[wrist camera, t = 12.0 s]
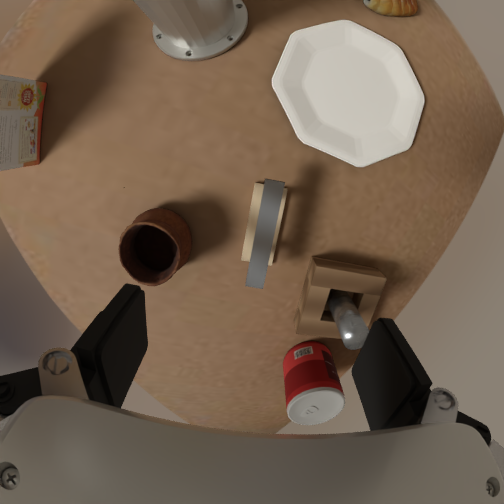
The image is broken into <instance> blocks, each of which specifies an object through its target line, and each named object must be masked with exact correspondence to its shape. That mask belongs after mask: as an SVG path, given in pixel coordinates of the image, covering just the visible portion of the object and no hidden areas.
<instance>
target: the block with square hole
mask: <svg viewBox="0 0 504 504" xmlns="http://www.w3.org/2000/svg"><path fill="white" fill-rule="evenodd" d="M386 279H387V278H386V277H385V276H384V275H383V274H382V273H381V272H380V271H379V270H378V269H377V268H372V267H367V266H361V265H356V264H351V263H345V262H340V261H334V260H329V259H323V258H318V257H313V256H312V257H311V261H310V264H309V268H308V272H307V276H306V279H305V283H304V287H303V290H302V294H301V297H300V301H299V304H298V308H297V311H296V315H295V318H294V323H295V329H296V334H301V335H310V336H318V337H328V338H337V339H342V338H341V336H340V333H339V331H338V328H337V326H336V323H335V321H334V318H333V316H332V313H331V311H330V308H329V306H328V304H327V298H328V295H329V292H330V289H337V290H343V291H347V292H348V294H349V296H350V297H351V299H352V301H353V303H354V304H355V306H356V308H357V310H358V311H359V313H360V315H361V317H362V318H363V320H364V322H365V324H366V326H367V327H368V326H369V323H370V321H371V318H372V316H373V314H374V311H375V309H376V306H377V303H378V301H379V298H380V296H381V293H382V290H383V288H384V285H385V282H386Z"/></svg>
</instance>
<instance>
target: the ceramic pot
mask: <svg viewBox="0 0 504 504" xmlns="http://www.w3.org/2000/svg"><path fill="white" fill-rule="evenodd" d="M124 188H125V187H124ZM191 246H192V237H191V232H190V229H189V226H188V225H187V223H186V222H185V220H184V219H183V218H182V217H181V216H180V215H178V214H176V213H175V212H173V211H170V210H166V209H162V208H155V209H150V210H148V211H145V212H144V213H142V214H140V215H139V216H138V217H137V218H136V219H135V220H134V221H133V223H132V224H131V225H129V226H128V227H127V228H126V230H125V231H124V232H123V233H122V235H121V237H120V244H119V256H120V261H121V263H122V266H123V267H124V268H125V270H126V271H127V272H128V273H129V275H130V276H131V277H132V278H133V279H134V280H136V281H137V282H138V283H141V284H144V285H147V286H157V285H160V284H162V283H165V282H166V281H168V280H169V279H170V278H171V277H172V276H173V274H175V273H176V272H177V271H178V270H179V269H180V268H181V267H182V266H183V265H184V264H185V263H186V262H187V260H188V258H189V255H190V252H191Z"/></svg>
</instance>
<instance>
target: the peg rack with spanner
mask: <svg viewBox="0 0 504 504" xmlns="http://www.w3.org/2000/svg"><path fill="white" fill-rule="evenodd" d="M284 185H285V183H284V182H281V181H276V180H270V179H265V183H264V184H260V183H255V185H254V191H253V196H252V202H251V207H250V213H249V219H248V224H247V230H246V235H245V241H244V247H243V252H242V258H241V260H243V261H249V268H248V273H247V278H246V285H245V286H249V287H254V288H260V289H263V286H264V281H265V277H266V272H267V267H268V265H272V262H273V257H274V252H275V248H276V243H277V238H278V234H279V229H280V224H281V219H282V214H283V210H284V205H285V200H286V195H287V190H288V189H286V188H284Z"/></svg>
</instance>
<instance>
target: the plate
mask: <svg viewBox="0 0 504 504" xmlns="http://www.w3.org/2000/svg"><path fill="white" fill-rule="evenodd" d="M272 87H273V89H274V91H275V93H276V95H277V97H278V99H279V101H280V102H281V104H282V106H283V108H284V110H285V112H286V114H287V116H288V118H289V120H290V122H291V125H292V127H293V129H294V131H295V133H296V135H297V137H298V138H299V139H300V140H301V141H302V142H303V143H304V144H307V145H309V146H311V147H314V148H316V149H318V150H321V151H323V152H325V153H328V154H330V155H332V156H334V157H337V158H339V159H341V160H343V161H345V162H347V163H350V164H352V165H354V166H356V167H365V166H368V165H370V164H373V163H375V162H378V161H380V160H383V159H385V158H388V157H390V156H393V155H396V154H398V153H401V152H403V151H406V150H408V149H409V148H410V147H411V146H412V143H413V140H414V137H415V133H416V130H417V127H418V124H419V120H420V117H421V113H422V110H423V106H424V102H425V100H424V94H423V92H422V90H421V88H420V85H419V83H418V81H417V79H416V77H415V75H414V73H413V71H412V69H411V67H410V65H409V63H408V61H407V59H406V57H405V55H404V53H403V51H402V50H401V49H400V48H399V47H398V46H397V45H396V44H394V43H393V42H391V41H389V40H387V39H385V38H384V37H382V36H380V35H378V34H376V33H374V32H372V31H370V30H368V29H367V28H364V27H362V26H360V25H358V24H356V23H354V22H352V21H349V20H339V21H334V22H329V23H325V24H320V25H316V26H312V27H308V28H305V29H301V30H297V31H295V32H294V33H292V34H291V35H290V38H289V40H288V42H287V44H286V47H285V49H284V51H283V54H282V56H281V58H280V61H279V63H278V65H277V68H276V70H275V73H274V75H273V77H272Z"/></svg>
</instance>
